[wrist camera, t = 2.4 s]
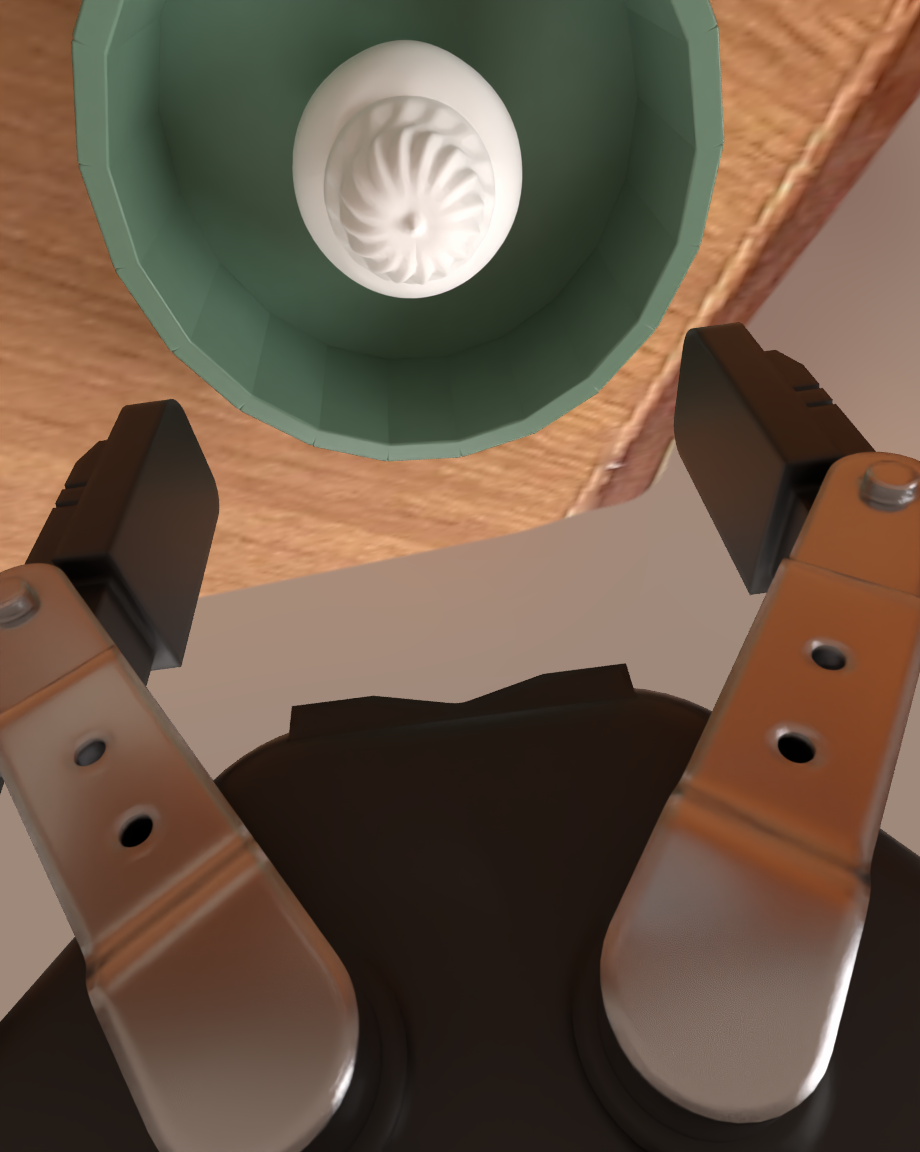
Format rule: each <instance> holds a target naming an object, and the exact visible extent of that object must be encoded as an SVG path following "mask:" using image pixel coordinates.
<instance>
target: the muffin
mask: <svg viewBox="0 0 920 1152" xmlns="http://www.w3.org/2000/svg"><path fill="white" fill-rule="evenodd" d="M292 171H293V183H294V190H295V195H296V200H297V203H298V207H299V210H300V213H301V216H302V218H303V220H304V223H305V225H306V227H307V229H308V231H309V233H310V234H311V236H312V238H313V240H314V241H315V243H316V244H317V245H318V247H319V248H320V250H321V251H322V252H323V253H324V255H325V256H326V257H327V258H328V259H329V260H330V261H331V262H332V263H333V264H334V265H335V266H336V267H337V268H338V269H339V270H340V271H342V272H343V273H344V274H345V275H346V276H348V277H349V278H351V279H352V280H354V281H355V282H357V283H359V284H360V285H362V286H364V287H366V288H368V289H370V290H372V291H375V292H378V293H381V294H384V295H388V296H392V297H398V298H423V297H429V296H434V295H437V294H441V293H444V292H446V291H449V290H451V289H453V288H455V287H457V286H459V285H461V284H463V283H464V282H466V281H467V280H469V279H470V278H471V277H473V276H474V275H475V274H476V273H478V272H479V271H480V270H481V269H482V268H483V267H484V266H485V265H486V264H487V263H488V262H489V261H490V260H491V259H492V257H493V256H494V255H495V254H496V252H497V251H498V249H499V248H500V246H501V245H502V244H503V242H504V240H505V238H506V237H507V235H508V233H509V231H510V229H511V227H512V224H513V222H514V219H515V216H516V213H517V210H518V206H519V201H520V196H521V189H522V158H521V151H520V145H519V140H518V136H517V133H516V130H515V127H514V124H513V122H512V119H511V117H510V115H509V113H508V111H507V109H506V107H505V105H504V103H503V102H502V100H501V99H500V97H499V96H498V94H497V93H496V92H495V90H494V89H493V88H492V87H491V85H490V84H489V83H488V82H487V81H486V80H485V79H484V78H483V77H482V76H481V75H480V74H479V73H478V72H477V71H476V70H475V69H473V68H472V67H471V66H469V65H468V64H467V63H465V62H464V61H463V60H461V59H460V58H458V57H456V56H455V55H453V54H451V53H450V52H448V51H446V50H444V49H441V48H439V47H437V46H434V45H432V44H429V43H425V42H420V41H415V40H395V41H389V42H385V43H381V44H378V45H375V46H373V47H370V48H368V49H365V50H363V51H362V52H360V53H358V54H356V55H354V56H353V57H351V58H350V59H348V60H346V61H345V62H344V63H342V64H341V65H340V66H338V67H337V68H336V69H335V70H334V71H333V72H332V73H331V74H330V75H329V76H328V77H327V78H326V79H325V80H324V81H323V82H322V83H321V84H320V86H319V87H318V88H317V89H316V91H315V92H314V93H313V95H312V97H311V98H310V100H309V102H308V104H307V105H306V107H305V109H304V112H303V114H302V116H301V119H300V122H299V124H298V128H297V131H296V136H295V141H294V147H293V165H292Z"/></svg>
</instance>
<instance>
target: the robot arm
mask: <svg viewBox="0 0 920 1152" xmlns="http://www.w3.org/2000/svg"><path fill="white" fill-rule="evenodd" d="M674 433H675V441H676V445H677V449H678V452H679V455H680V457H681V459H682V460H683V463H684V465H685V467H686V469H687V471H688V472H689V474H690V477H691V478H692V480H693V483H694V485H695V487H696V489H697V490H698V492H699V494H700V496H701V498H702V500H703V502H704V504H705V506H706V508H707V510H708V512H709V514H710V516H711V518H712V520H713V522H714V524H715V526H716V528H717V530H718V532H719V534H720V536H721V538H722V540H723V542H724V544H725V546H726V548H727V550H728V552H729V554H730V556H731V558H732V560H733V562H734V564H735V566H736V568H737V570H738V572H739V574H740V576H741V578H742V580H743V582H744V584H745V586H746V588H747V590H748V592H749V594H750V595H752V594H760V593H766V596H765V598H764V600H763V602H762V604H761V607H760V609H759V611H758V613H757V615H756V617H755V620H754V622H753V624H752V626H751V628H750V631H749V633H748V635H747V637H746V639H745V641H744V643H743V646H742V648H741V650H740V652H739V654H738V657H737V659H736V661H735V663H734V665H733V667H732V670H731V672H730V674H729V676H728V678H727V681H726V683H725V685H724V687H723V689H722V692H721V694H720V696H719V698H718V700H717V702H716V704H715V707H714V709H713V711H710V710H708V709H706V708H704V707H702V706H699V705H697V704H695V703H692V702H690V701H687V700H685V699H681V698H678V697H675V696H672V695H669V694H665V693H660V692H655V691H650V690H645V689H635V688H633V685H632V682H631V679H630V675H629V672H628V669H627V666H626V664H618V665H610V666H602V667H595V668H586V669H578V670H571V671H563V672H555V673H547V674H542V675H539V676H536V677H534V678H531V679H528V680H525V681H523V682H520V683H517V684H514V685H511V686H509V687H506V688H503V689H501V690H498V691H495V692H492V693H490V694H487V695H484V696H481V697H479V698H475V699H473V700H470V701H467V702H463V703H443V702H433V701H432V702H431V701H422V700H412V699H401V698H391V697H380V696H369V697H361V698H353V699H346V700H337V701H329V702H322V703H314V704H306V705H298V706H292V711H291V720H290V730H289V733H287V734H285V735H282V736H279V737H277V738H275V739H273V740H271V741H269V742H267V743H265V744H263V745H261V746H259V747H257V748H256V749H254V750H253V751H251V752H249V753H248V754H246V755H244V756H243V757H242V758H240V759H239V760H237V761H236V762H235V763H233V764H232V765H231V766H229V767H228V768H227V769H225V770H224V771H223V772H222V773H221V774H220V775H219V776H218V777H217V778H216V779H215V780H213V779H212V778H211V777H210V775H209V774H208V772H207V771H206V770H205V768H204V767H203V765H202V764H201V763H200V761H199V760H198V758H197V757H196V756H195V754H194V753H193V751H192V750H191V749H190V747H189V746H188V745H187V743H186V742H185V740H184V739H183V737H182V736H181V735H180V733H179V732H178V731H177V729H176V728H175V726H174V725H173V724H172V722H171V721H170V719H169V718H168V717H167V715H166V714H165V712H164V711H163V710H162V708H161V707H160V705H159V704H158V703H157V701H156V700H155V699H154V698H153V696H152V695H151V693H150V692H149V690H148V689H147V687H146V685H147V682H148V678H149V675H150V671H152V670H160V669H168V668H175V667H181V665H182V661H183V657H184V653H185V649H186V645H187V641H188V637H189V632H190V629H191V625H192V620H193V616H194V612H195V608H196V604H197V600H198V596H199V592H200V588H201V584H202V580H203V576H204V572H205V568H206V564H207V560H208V556H209V552H210V548H211V544H212V539H213V535H214V531H215V527H216V523H217V519H218V515H219V497H218V491H217V487H216V483H215V480H214V477H213V475H212V473H211V470H210V468H209V466H208V464H207V461H206V459H205V457H204V455H203V452H202V450H201V448H200V446H199V443H198V441H197V439H196V437H195V434H194V432H193V430H192V428H191V425H190V423H189V421H188V419H187V416H186V414H185V412H184V410H183V408H182V407H181V405H180V404H179V403H178V402H177V401H176V400H174V399H169V400H162V401H154V402H147V403H140V404H133V405H126V406H124V407H123V408H122V410H121V412H120V414H119V416H118V418H117V420H116V422H115V425H114V427H113V429H112V431H111V433H110V435H109V437H108V439H107V440H104V441H99V442H97V443H96V444H95V445H94V446H93V447H92V448H91V449H90V450H89V451H88V452H87V453H86V454H85V455H84V456H82V457H81V458H80V459H79V460H78V461H77V462H76V463H75V465H74V467H73V469H72V471H71V473H70V475H69V477H68V479H67V481H66V483H65V489H63V490H62V491H61V493H60V495H59V497H58V499H57V501H56V503H55V504H56V508H53V509H52V511H51V513H50V515H49V517H48V519H47V521H46V523H45V525H44V527H43V529H42V531H41V533H40V535H39V537H38V539H37V541H36V543H35V545H34V547H33V549H32V551H31V553H30V554H29V556H28V558H27V560H26V562H25V564H24V565H21V566H17V567H13V568H11V569H8V570H5V571H3V572H1V573H0V793H1V790H2V787H3V784H4V782H5V784H6V786H7V788H8V790H9V793H10V795H11V797H12V799H13V801H14V804H15V806H16V808H17V810H18V812H19V814H20V817H21V819H22V821H23V823H24V825H25V827H26V830H27V832H28V834H29V836H30V839H31V841H32V843H33V845H34V847H35V850H36V852H37V854H38V856H39V858H40V861H41V863H42V865H43V867H44V869H45V871H46V874H47V876H48V878H49V880H50V882H51V884H52V887H53V889H54V891H55V893H56V896H57V898H58V900H59V902H60V904H61V907H62V909H63V911H64V913H65V915H66V917H67V920H68V922H69V924H70V926H71V928H72V930H73V933H74V935H75V937H74V938H73V940H72V941H71V942H70V943H69V944H68V945H67V946H66V948H65V949H64V950H63V951H62V952H61V953H60V954H59V956H58V957H57V958H56V959H55V960H54V961H53V962H52V963H51V965H50V966H49V967H48V968H47V969H46V970H45V971H44V973H43V974H42V975H41V976H40V977H39V979H37V981H36V982H35V983H34V984H33V985H32V986H31V987H30V989H29V990H28V991H27V992H26V993H25V994H24V995H23V997H22V998H21V999H20V1000H19V1001H18V1002H17V1003H16V1005H15V1006H14V1007H13V1008H12V1009H11V1010H10V1011H9V1012H8V1014H7V1015H6V1016H5V1017H4V1018H3V1019H2V1020H1V1022H0V1152H920V857H919V856H918V855H917V854H915V853H914V852H912V851H911V850H910V849H908V848H907V847H905V846H904V845H903V844H901V843H900V842H898V841H897V840H896V839H894V838H893V837H891V836H890V835H888V834H887V833H886V832H884V831H883V830H882V829H880V825H881V821H882V817H883V813H884V809H885V805H886V802H887V798H888V794H889V790H890V786H891V782H892V778H893V774H894V770H895V766H896V763H897V759H898V755H899V751H900V747H901V743H902V739H903V735H904V731H905V727H906V724H907V720H908V716H909V712H910V708H911V704H912V700H913V696H914V692H915V688H916V684H917V681H918V677H919V673H920V461H918V460H916V459H913V458H910V457H907V456H903V455H899V454H893V453H886V452H876V451H875V450H874V449H873V448H872V446H871V445H870V444H869V443H868V442H867V440H866V439H865V438H864V437H863V436H862V434H861V433H860V432H859V431H858V430H857V428H856V427H855V426H854V425H853V424H852V423H851V421H850V420H849V419H848V418H847V417H846V415H845V414H844V413H843V412H842V411H841V409H840V408H839V407H838V406H837V405H836V404H833V403H832V399H831V398H830V396H829V395H828V394H827V393H826V392H825V390H824V389H823V388H819V383H818V382H817V381H816V380H815V378H814V377H813V376H812V375H811V374H810V372H809V371H808V370H807V369H806V368H805V367H804V365H802V364H801V363H799V362H797V361H795V360H793V359H791V358H790V357H788V356H786V355H784V354H782V353H780V352H778V351H777V350H771V351H763V349H762V348H761V347H760V345H759V344H758V343H757V342H756V340H755V339H754V338H753V337H752V335H751V334H750V333H749V331H748V330H747V329H746V328H745V326H744V325H743V324H742V323H740V322H736V323H729V324H722V325H714V326H707V327H700V328H693V329H690V330H689V331H688V332H687V334H686V337H685V340H684V344H683V351H682V359H681V367H680V375H679V383H678V391H677V399H676V407H675V415H674Z"/></svg>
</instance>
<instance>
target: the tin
mask: <svg viewBox="0 0 920 1152" xmlns="http://www.w3.org/2000/svg"><path fill="white" fill-rule="evenodd" d="M73 38H74V39H72V41H71V46H72V66H73V87H74V107H75V128H76V148H77V161H78V163H79V169H80V172H81V175H82V178H83V180H84V183H85V186H86V189H87V192H88V195H89V198H90V200H91V203H92V206H93V209H94V212H95V215H96V218H97V221H98V223H99V226H100V229H101V232H102V235H103V238H104V241H105V244H106V246H107V249H108V252H109V255H110V258H111V261H112V264H113V266H114V268H116V269H115V271H116V273H117V274H118V276H119V277H120V279H121V280H122V281H123V283H124V284H125V286H126V287H127V289H128V290H129V292H130V293H131V295H132V296H133V297H134V299H135V300H136V302H137V303H138V305H139V306H140V308H141V309H142V311H143V312H144V313H145V315H146V316H147V318H148V319H149V321H150V322H151V324H152V325H153V327H154V328H155V329H156V331H157V332H158V334H159V335H160V337H161V338H162V340H163V341H164V343H165V344H166V345H167V347H168V348H169V350H170V351H172V352H173V354H174V355H176V356H177V357H178V358H179V359H180V360H181V361H182V362H184V363H185V364H186V365H187V366H188V367H189V368H191V369H192V370H193V371H194V372H195V373H196V374H198V375H199V376H200V377H201V378H202V379H203V380H205V381H206V382H207V383H208V384H209V385H210V386H211V387H213V388H214V389H215V390H216V391H217V392H218V393H220V394H221V395H222V396H223V397H224V398H225V399H227V400H228V401H229V402H230V403H231V404H232V405H233V406H235V407H236V408H237V409H240V411H242V412H244V413H246V414H248V415H250V416H252V417H254V418H256V419H258V420H260V421H262V422H264V423H266V424H268V425H270V426H272V427H274V428H276V429H278V430H280V431H282V432H284V433H286V434H289V435H291V436H293V437H295V438H297V439H299V440H301V441H303V442H305V443H307V444H309V445H313V446H314V447H318V448H323V449H328V450H333V451H338V452H343V453H348V454H353V455H357V456H362V457H367V458H372V459H377V460H382V461H387V460H388V461H403V460H421V459H440V458H458V457H461V456H467V455H470V454H473V453H476V452H479V451H482V450H485V449H488V448H492V447H495V446H498V445H501V444H504V443H507V442H510V441H513V440H516V439H519V438H523V437H526V436H529V435H531V434H535V433H536V432H538V431H539V430H541V429H543V428H544V427H546V426H547V425H549V424H550V423H552V422H553V421H555V420H557V419H558V418H560V417H561V416H563V415H564V414H566V413H567V412H569V411H571V410H572V409H574V408H575V407H577V406H578V405H580V404H582V403H583V402H585V401H586V400H588V399H589V398H591V397H592V396H594V395H596V394H597V393H598V392H599V391H600V390H601V389H602V388H603V387H604V386H605V385H606V384H607V382H608V381H609V380H610V379H611V378H612V377H613V376H614V375H615V374H616V373H617V372H618V371H619V369H620V368H621V367H622V366H623V365H624V364H625V363H626V362H627V361H628V360H629V359H630V357H631V356H632V355H633V354H634V353H635V352H636V351H637V350H638V349H639V348H640V347H641V346H642V344H643V343H644V342H645V341H646V340H647V339H648V338H649V337H650V336H651V335H652V334H653V332H654V331H655V328H657V327H658V326H659V324H660V322H661V320H662V318H663V316H664V314H665V312H666V311H667V309H668V307H669V305H670V303H671V301H672V299H673V297H674V295H675V294H676V292H677V290H678V288H679V286H680V284H681V282H682V280H683V278H684V277H685V275H686V273H687V271H688V269H689V267H690V265H691V263H692V261H693V260H694V258H695V256H696V254H697V252H698V250H699V245H700V244H701V241H702V237H703V232H704V228H705V224H706V219H707V215H708V211H709V206H710V202H711V197H712V193H713V189H714V184H715V180H716V175H717V171H718V167H719V162H720V158H721V154H722V149H723V143H724V125H723V106H722V86H721V67H720V47H719V27H718V25H717V20H716V18H715V15H714V12H713V9H712V7H711V4H710V1H709V0H82V2H81V6H80V9H79V13H78V16H77V20H76V23H75V27H74V31H73ZM395 40H415V41H420V42H425V43H429V44H432V45H434V46H437V47H439V48H441V49H444V50H446V51H448V52H450V53H451V54H453V55H455V56H456V57H458V58H460V59H461V60H463V61H464V62H465V63H467V64H468V65H469V66H471V67H472V68H473V69H475V70H476V71H477V72H478V73H479V74H480V75H481V76H482V77H483V78H484V79H485V80H486V81H487V82H488V83H489V84H490V85H491V87H492V88H493V89H494V90H495V92H496V93H497V94H498V96H499V97H500V99H501V100H502V102H503V103H504V105H505V107H506V109H507V111H508V113H509V115H510V117H511V119H512V122H513V124H514V127H515V130H516V133H517V136H518V140H519V145H520V151H521V158H522V189H521V196H520V201H519V206H518V210H517V213H516V216H515V219H514V222H513V224H512V227H511V229H510V231H509V233H508V235H507V237H506V238H505V240H504V242H503V244H502V245H501V246H500V248H499V249H498V251H497V252H496V254H495V255H494V256H493V257H492V259H491V260H490V261H489V262H488V263H487V264H486V265H485V266H484V267H483V268H482V269H481V270H480V271H479V272H478V273H476V274H475V275H474V276H473V277H471V278H470V279H469V280H467V281H466V282H464V283H463V284H461V285H459V286H457V287H455V288H453V289H451V290H449V291H446V292H444V293H441V294H437V295H434V296H429V297H423V298H398V297H392V296H388V295H384V294H381V293H378V292H375V291H372V290H370V289H368V288H366V287H364V286H362V285H360V284H359V283H357V282H355V281H354V280H352V279H351V278H349V277H348V276H346V275H345V274H344V273H343V272H342V271H340V270H339V269H338V268H337V267H336V266H335V265H334V264H333V263H332V262H331V261H330V260H329V259H328V258H327V257H326V256H325V255H324V253H323V252H322V251H321V250H320V248H319V247H318V245H317V244H316V243H315V241H314V240H313V238H312V236H311V234H310V233H309V231H308V229H307V227H306V225H305V223H304V220H303V218H302V216H301V213H300V210H299V207H298V203H297V200H296V195H295V190H294V183H293V171H292V165H293V147H294V141H295V136H296V131H297V128H298V124H299V122H300V119H301V116H302V114H303V112H304V109H305V107H306V105H307V104H308V102H309V100H310V98H311V97H312V95H313V93H314V92H315V91H316V89H317V88H318V87H319V86H320V84H321V83H322V82H323V81H324V80H325V79H326V78H327V77H328V76H329V75H330V74H331V73H332V72H333V71H334V70H335V69H336V68H337V67H338V66H340V65H341V64H342V63H344V62H345V61H346V60H348V59H350V58H351V57H353V56H354V55H356V54H358V53H360V52H362V51H363V50H365V49H368V48H370V47H373V46H375V45H378V44H381V43H385V42H389V41H395ZM598 390H599V391H598Z"/></svg>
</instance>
